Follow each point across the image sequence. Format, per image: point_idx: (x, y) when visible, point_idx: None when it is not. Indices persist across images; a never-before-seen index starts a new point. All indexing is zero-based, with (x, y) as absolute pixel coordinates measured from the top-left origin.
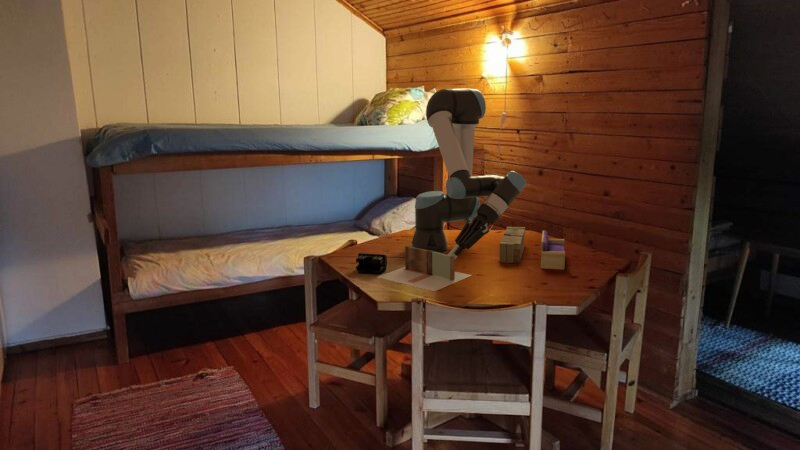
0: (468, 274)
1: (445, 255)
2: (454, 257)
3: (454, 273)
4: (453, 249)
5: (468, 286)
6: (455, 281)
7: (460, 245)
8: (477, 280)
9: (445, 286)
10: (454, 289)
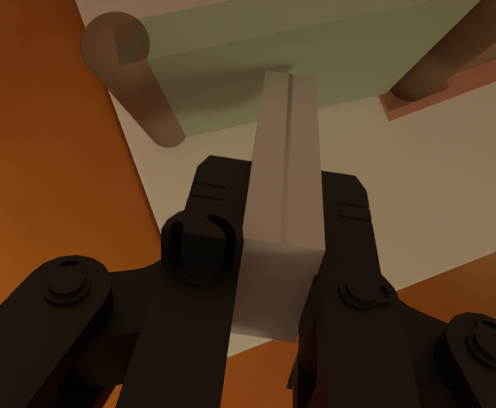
0: (239, 349)
1: (226, 2)
2: (85, 62)
3: (140, 126)
4: (280, 164)
5: (8, 176)
6: (138, 141)
7: (178, 248)
8: None
9: (76, 3)
10: (10, 43)
